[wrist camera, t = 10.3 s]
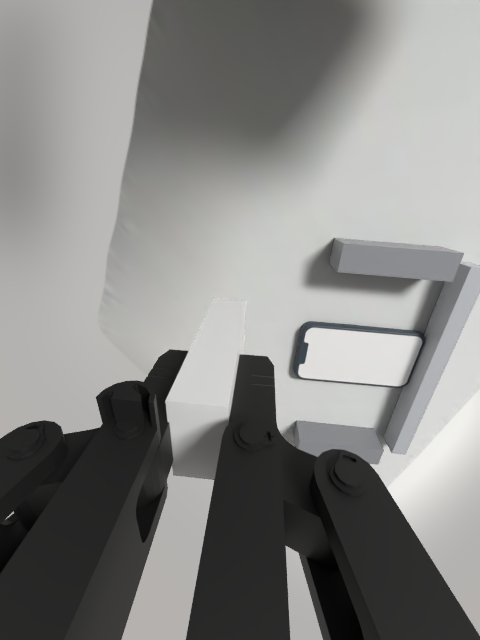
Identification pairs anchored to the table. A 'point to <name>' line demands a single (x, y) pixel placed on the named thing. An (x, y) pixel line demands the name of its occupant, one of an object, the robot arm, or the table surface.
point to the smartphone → (357, 354)
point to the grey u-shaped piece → (438, 347)
